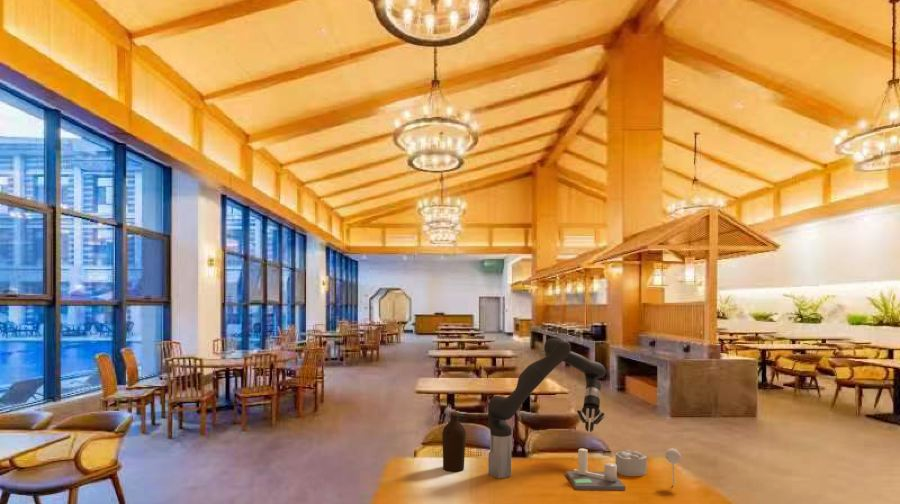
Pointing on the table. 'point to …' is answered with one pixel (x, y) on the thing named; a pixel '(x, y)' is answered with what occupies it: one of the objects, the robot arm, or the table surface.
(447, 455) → the olive oil
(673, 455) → the lollipop
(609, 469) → the beige u-shaped piece
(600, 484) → the board
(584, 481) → the green band
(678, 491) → the table surface
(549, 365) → the robot arm
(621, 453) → the lumpy-topped squat cylinder
